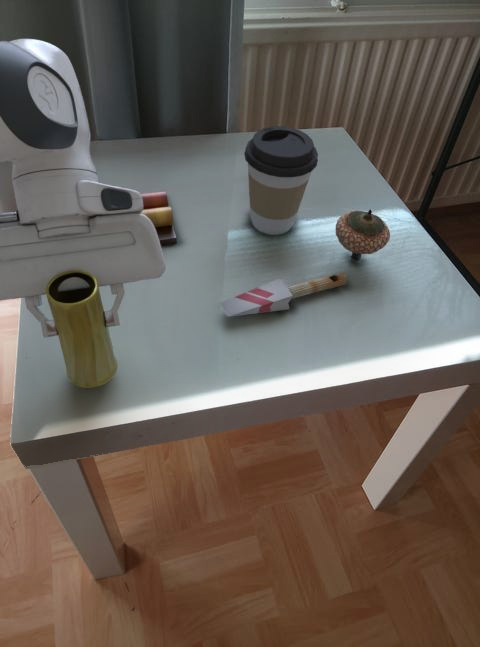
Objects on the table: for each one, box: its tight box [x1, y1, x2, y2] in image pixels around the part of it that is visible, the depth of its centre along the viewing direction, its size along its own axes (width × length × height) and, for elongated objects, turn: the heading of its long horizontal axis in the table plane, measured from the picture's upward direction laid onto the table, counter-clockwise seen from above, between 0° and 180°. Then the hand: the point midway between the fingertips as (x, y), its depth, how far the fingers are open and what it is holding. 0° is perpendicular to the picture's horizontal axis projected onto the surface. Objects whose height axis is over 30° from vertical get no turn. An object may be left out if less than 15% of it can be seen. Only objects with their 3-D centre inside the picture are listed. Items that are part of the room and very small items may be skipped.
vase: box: [45, 270, 118, 389], centre depth 57 cm, size 6×6×14 cm
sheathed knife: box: [219, 272, 348, 318], centre depth 73 cm, size 4×3×20 cm
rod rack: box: [140, 190, 178, 246], centre depth 82 cm, size 14×12×4 cm
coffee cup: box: [243, 125, 319, 236], centre depth 81 cm, size 11×11×15 cm
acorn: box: [335, 208, 391, 262], centre depth 78 cm, size 8×8×10 cm
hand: (83, 331), depth 56 cm, fingers closed on vase, 5 cm apart
